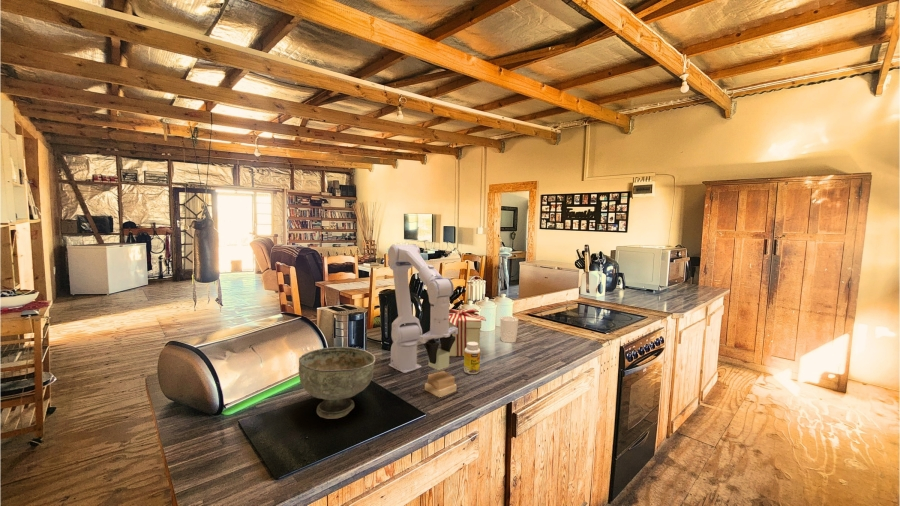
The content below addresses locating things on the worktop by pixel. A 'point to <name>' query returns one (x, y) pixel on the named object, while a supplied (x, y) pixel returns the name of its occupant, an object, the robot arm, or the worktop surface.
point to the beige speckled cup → (508, 329)
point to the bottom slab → (440, 392)
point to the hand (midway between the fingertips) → (438, 360)
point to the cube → (441, 360)
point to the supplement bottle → (472, 358)
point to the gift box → (464, 329)
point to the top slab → (441, 380)
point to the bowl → (336, 377)
